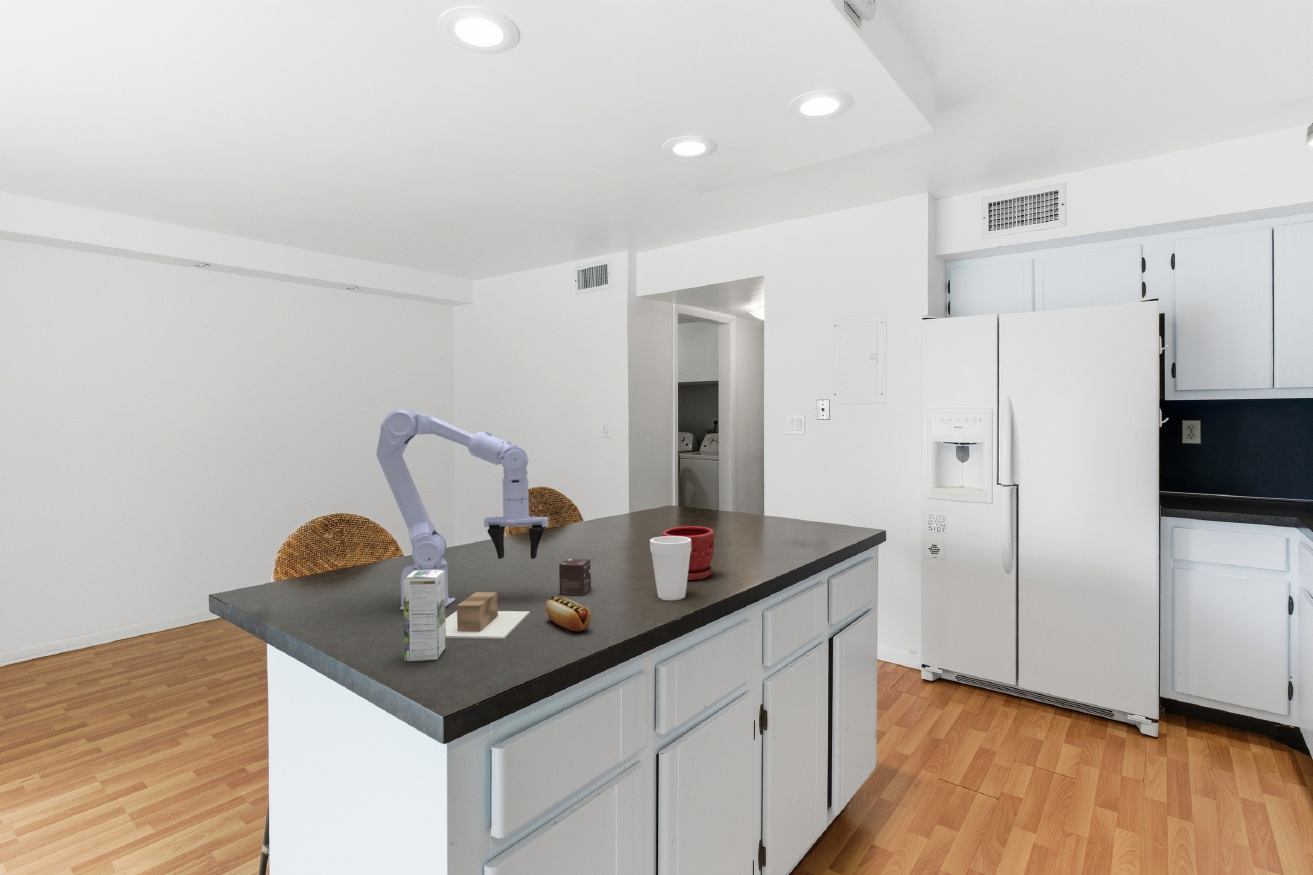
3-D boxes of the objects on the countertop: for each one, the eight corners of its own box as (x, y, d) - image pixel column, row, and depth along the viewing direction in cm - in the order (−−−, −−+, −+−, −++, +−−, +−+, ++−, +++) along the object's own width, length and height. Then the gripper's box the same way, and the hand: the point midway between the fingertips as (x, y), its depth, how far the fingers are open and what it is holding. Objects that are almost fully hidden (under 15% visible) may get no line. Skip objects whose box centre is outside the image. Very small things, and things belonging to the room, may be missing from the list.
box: (583, 596, 150) (583, 564, 150) (559, 595, 152) (558, 564, 151) (591, 589, 156) (591, 559, 156) (567, 588, 158) (567, 558, 157)
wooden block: (476, 615, 135) (476, 591, 135) (497, 615, 135) (497, 591, 135) (457, 631, 125) (456, 605, 125) (480, 631, 125) (479, 605, 125)
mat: (422, 637, 123) (422, 635, 123) (456, 612, 139) (456, 610, 139) (504, 638, 122) (504, 636, 122) (529, 613, 138) (529, 611, 138)
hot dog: (571, 638, 122) (571, 611, 122) (540, 621, 133) (540, 596, 133) (595, 632, 125) (594, 606, 125) (562, 616, 136) (561, 592, 135)
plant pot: (666, 570, 175) (665, 525, 174) (715, 570, 173) (715, 525, 172) (660, 582, 162) (659, 534, 161) (713, 583, 160) (712, 534, 160)
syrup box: (413, 650, 117) (411, 569, 116) (447, 648, 117) (445, 568, 117) (403, 662, 111) (401, 577, 111) (439, 660, 111) (437, 576, 111)
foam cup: (669, 604, 142) (668, 545, 142) (642, 596, 149) (641, 540, 149) (700, 596, 148) (699, 539, 148) (673, 588, 155) (672, 534, 155)
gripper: (478, 501, 145) (480, 561, 146) (541, 500, 144) (543, 561, 144) (489, 497, 152) (491, 555, 153) (550, 496, 151) (551, 555, 151)
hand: (517, 557), depth 149 cm, fingers open, 7 cm apart
